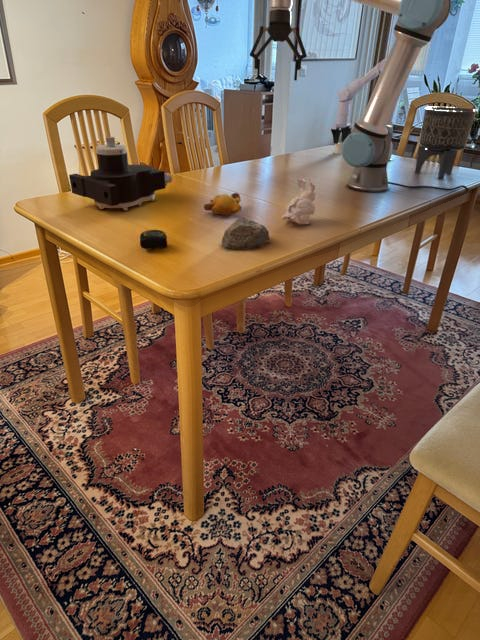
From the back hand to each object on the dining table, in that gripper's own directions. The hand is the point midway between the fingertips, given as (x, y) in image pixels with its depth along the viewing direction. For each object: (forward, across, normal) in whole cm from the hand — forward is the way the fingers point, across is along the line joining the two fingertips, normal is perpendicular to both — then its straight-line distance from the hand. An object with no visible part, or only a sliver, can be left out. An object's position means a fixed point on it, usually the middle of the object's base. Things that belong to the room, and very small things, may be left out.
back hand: (339, 142), depth 239 cm
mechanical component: (+5, +134, +4) cm, 135 cm away
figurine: (+5, +110, +56) cm, 124 cm away
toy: (+5, +119, +34) cm, 124 cm away
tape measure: (+5, +155, +43) cm, 161 cm away
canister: (+5, 0, 0) cm, 5 cm away
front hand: (-31, +75, +16) cm, 83 cm away
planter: (+5, +13, +58) cm, 60 cm away
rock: (+5, +135, +58) cm, 147 cm away
